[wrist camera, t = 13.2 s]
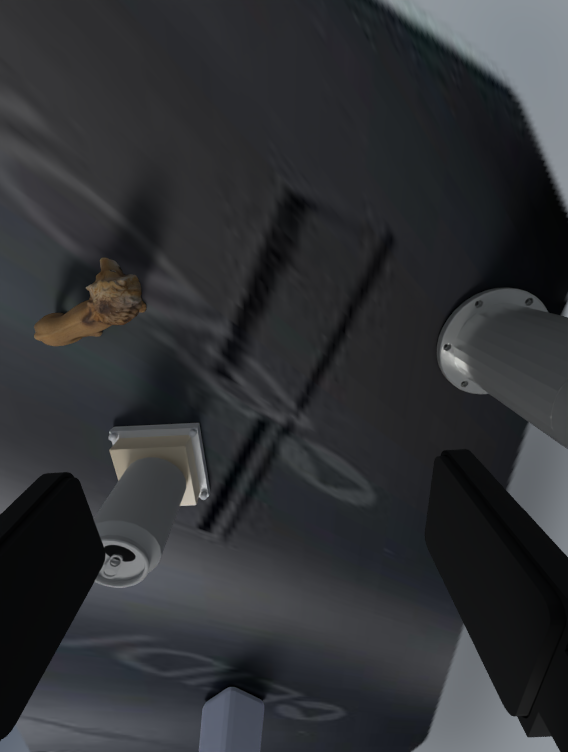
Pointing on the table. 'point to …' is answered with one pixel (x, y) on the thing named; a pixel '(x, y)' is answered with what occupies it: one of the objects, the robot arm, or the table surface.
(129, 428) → the tower base
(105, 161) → the table surface
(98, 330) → the lion figurine
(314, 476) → the table surface
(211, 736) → the soap bottle
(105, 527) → the can
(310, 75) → the table surface
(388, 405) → the table surface
